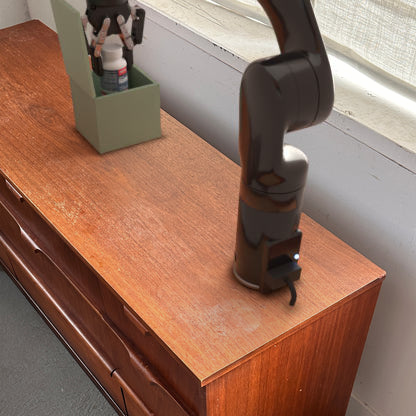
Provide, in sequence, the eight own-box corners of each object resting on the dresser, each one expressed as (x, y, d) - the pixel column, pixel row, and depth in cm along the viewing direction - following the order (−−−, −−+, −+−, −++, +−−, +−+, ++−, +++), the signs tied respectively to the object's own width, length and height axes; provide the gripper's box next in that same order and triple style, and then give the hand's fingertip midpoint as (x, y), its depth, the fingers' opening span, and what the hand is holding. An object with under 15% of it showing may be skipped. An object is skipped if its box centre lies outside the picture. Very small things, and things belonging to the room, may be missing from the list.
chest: (134, 113, 134) (131, 61, 126) (161, 137, 127) (159, 83, 119) (75, 128, 129) (68, 75, 121) (100, 154, 122) (94, 99, 114)
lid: (52, -10, 109) (47, -9, 109) (79, 12, 103) (75, 13, 103) (70, 72, 121) (66, 73, 120) (96, 96, 114) (92, 98, 114)
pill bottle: (123, 102, 120) (120, 54, 113) (97, 99, 121) (92, 51, 114) (132, 90, 124) (128, 43, 117) (106, 87, 124) (102, 39, 118)
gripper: (74, -17, 101) (87, 88, 114) (152, -30, 107) (156, 71, 119) (56, -30, 106) (70, 72, 118) (132, -42, 111) (137, 57, 124)
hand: (113, 71), depth 119 cm, fingers closed on pill bottle, 5 cm apart
